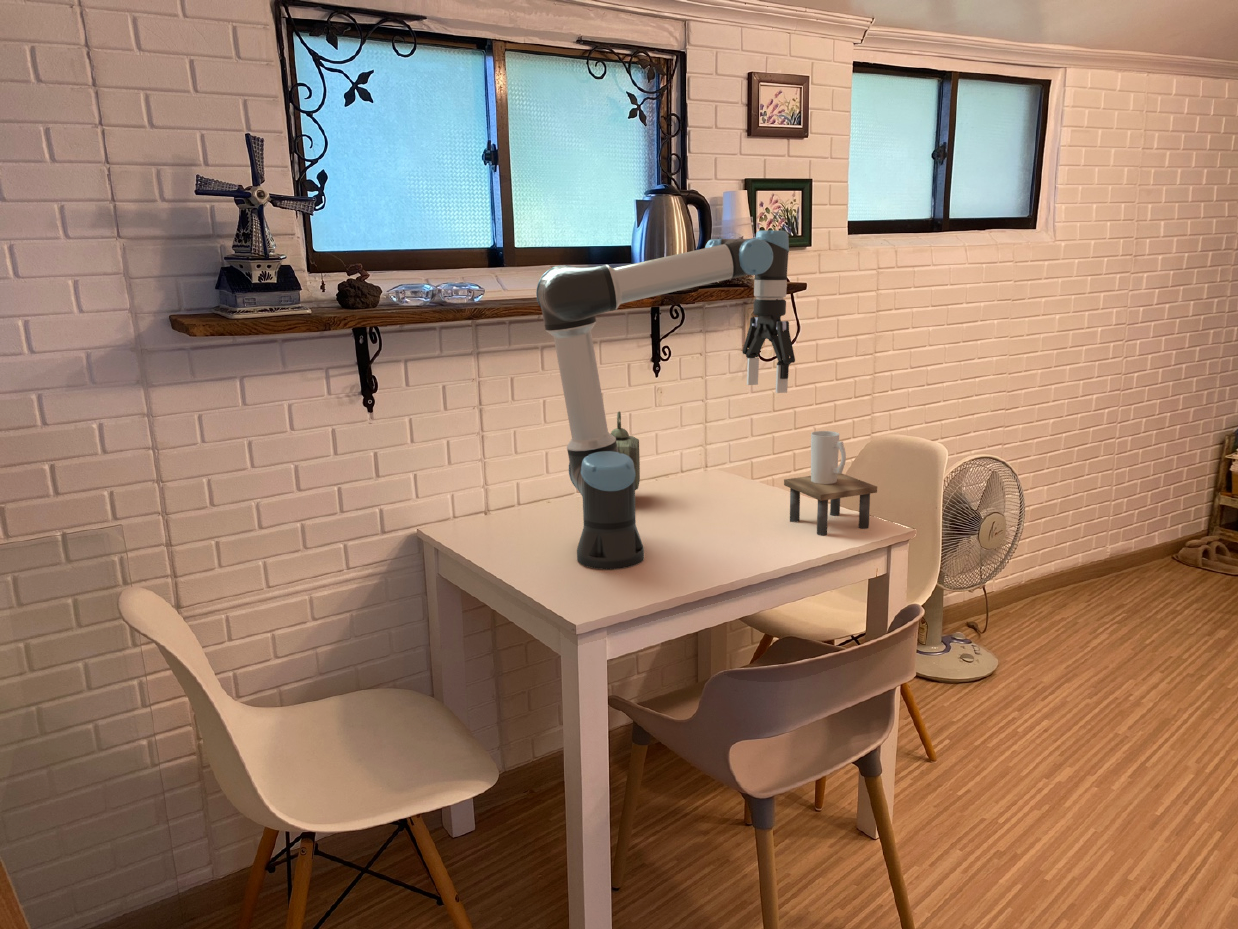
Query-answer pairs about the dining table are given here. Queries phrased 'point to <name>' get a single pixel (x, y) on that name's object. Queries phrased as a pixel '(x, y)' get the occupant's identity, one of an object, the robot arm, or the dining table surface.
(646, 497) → the dining table surface
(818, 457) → the mug
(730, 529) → the dining table surface
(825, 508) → the small wooden stand
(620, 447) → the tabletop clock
